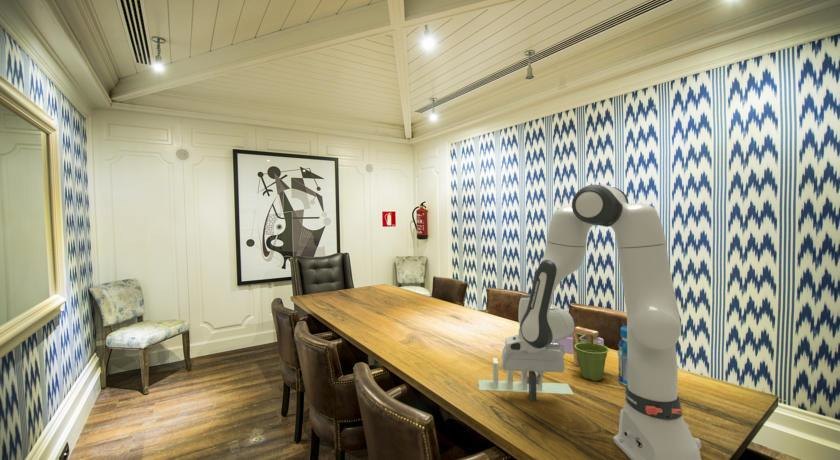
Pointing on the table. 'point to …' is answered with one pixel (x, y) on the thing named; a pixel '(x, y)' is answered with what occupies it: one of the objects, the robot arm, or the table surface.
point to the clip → (569, 343)
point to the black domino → (532, 386)
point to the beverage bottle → (623, 356)
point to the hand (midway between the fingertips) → (532, 383)
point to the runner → (546, 387)
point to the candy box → (583, 340)
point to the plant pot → (591, 360)
